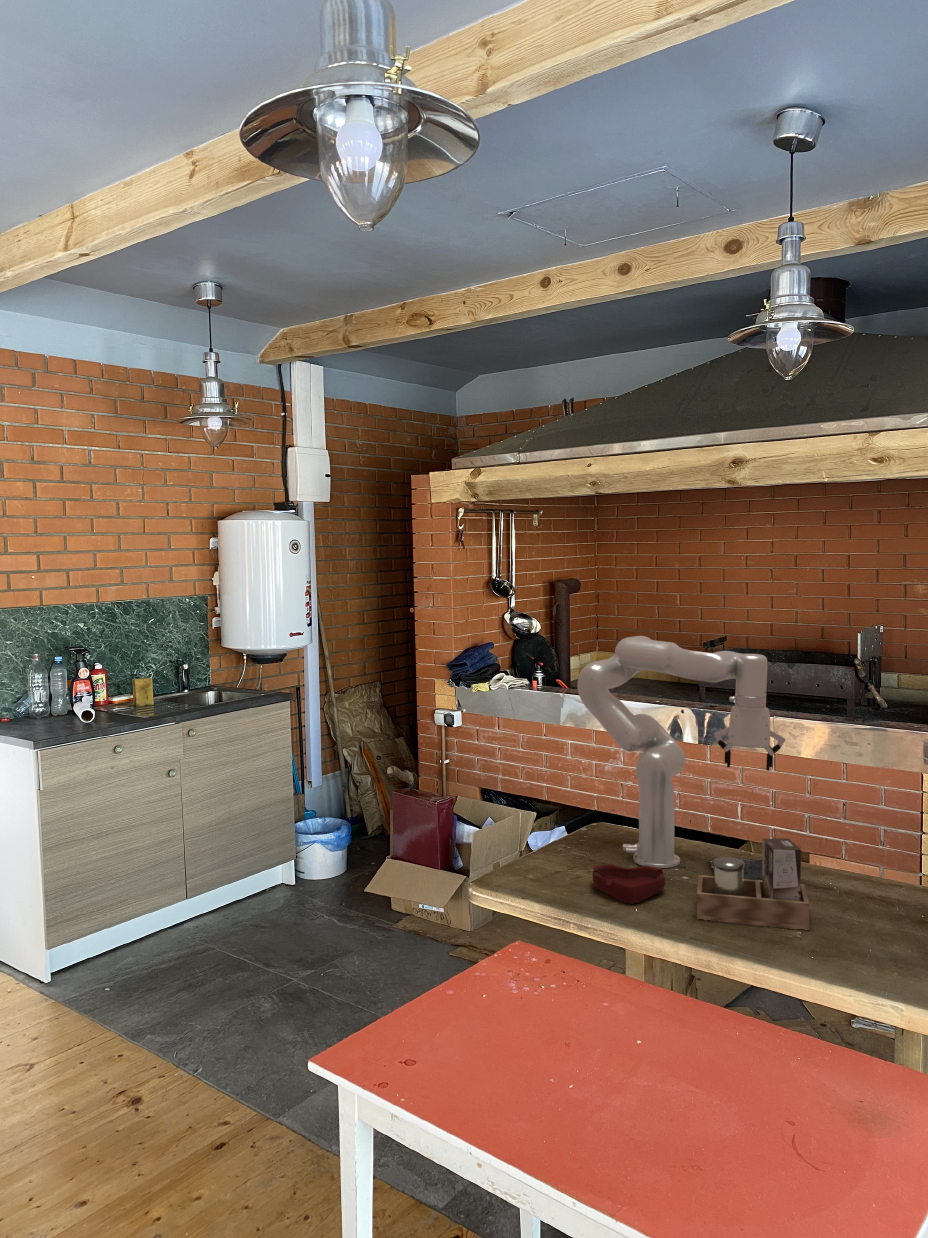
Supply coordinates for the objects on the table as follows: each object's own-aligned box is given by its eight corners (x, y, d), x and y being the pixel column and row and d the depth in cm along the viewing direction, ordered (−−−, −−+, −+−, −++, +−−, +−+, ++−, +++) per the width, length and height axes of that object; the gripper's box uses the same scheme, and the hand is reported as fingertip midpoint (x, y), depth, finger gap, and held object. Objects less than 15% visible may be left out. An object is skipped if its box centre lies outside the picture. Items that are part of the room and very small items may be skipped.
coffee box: (801, 920, 198) (802, 849, 197) (772, 920, 198) (772, 849, 197) (789, 905, 207) (789, 837, 206) (761, 905, 207) (761, 837, 206)
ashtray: (593, 906, 211) (593, 885, 211) (592, 882, 227) (592, 863, 227) (669, 909, 209) (669, 888, 208) (662, 885, 225) (662, 865, 225)
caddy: (696, 919, 201) (696, 893, 201) (698, 899, 214) (698, 875, 213) (809, 930, 194) (809, 904, 194) (804, 909, 207) (804, 884, 206)
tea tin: (713, 912, 203) (713, 865, 203) (713, 901, 210) (714, 856, 209) (744, 915, 201) (744, 867, 201) (743, 904, 208) (744, 858, 207)
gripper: (714, 702, 225) (712, 768, 226) (786, 706, 219) (783, 774, 221) (716, 697, 232) (714, 762, 233) (786, 702, 227) (783, 768, 228)
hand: (748, 768), depth 227 cm, fingers open, 9 cm apart
